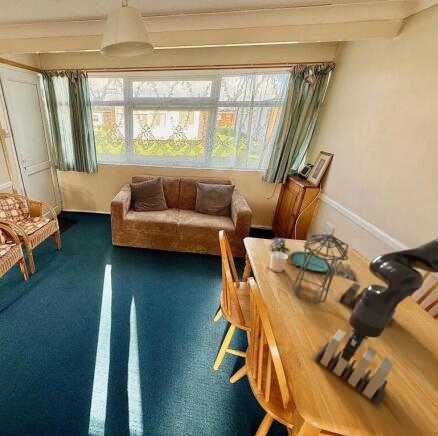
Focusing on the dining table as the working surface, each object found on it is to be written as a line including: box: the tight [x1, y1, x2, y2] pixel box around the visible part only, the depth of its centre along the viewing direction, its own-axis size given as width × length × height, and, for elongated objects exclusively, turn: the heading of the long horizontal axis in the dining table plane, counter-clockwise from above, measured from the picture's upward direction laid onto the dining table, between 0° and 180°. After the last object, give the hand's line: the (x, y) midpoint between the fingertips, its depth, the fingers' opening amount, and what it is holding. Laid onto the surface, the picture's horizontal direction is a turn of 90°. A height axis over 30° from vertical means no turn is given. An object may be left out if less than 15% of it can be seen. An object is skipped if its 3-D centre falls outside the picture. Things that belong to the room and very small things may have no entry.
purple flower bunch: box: [270, 237, 291, 254], centre depth 147 cm, size 11×11×12 cm
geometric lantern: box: [291, 233, 349, 304], centre depth 105 cm, size 16×16×35 cm
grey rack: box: [338, 282, 396, 324], centre depth 102 cm, size 17×8×10 cm, turn 35°
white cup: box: [269, 250, 289, 273], centre depth 129 cm, size 8×8×10 cm
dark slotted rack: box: [314, 328, 395, 405], centre depth 76 cm, size 17×8×14 cm, turn 35°
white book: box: [332, 356, 350, 377], centre depth 77 cm, size 2×6×13 cm, turn 124°
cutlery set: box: [290, 250, 354, 281], centre depth 134 cm, size 20×30×2 cm, turn 58°
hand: (349, 351), depth 76 cm, fingers open, 8 cm apart
